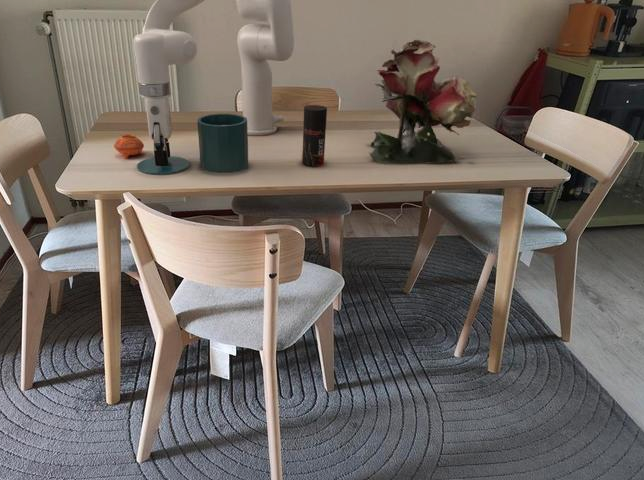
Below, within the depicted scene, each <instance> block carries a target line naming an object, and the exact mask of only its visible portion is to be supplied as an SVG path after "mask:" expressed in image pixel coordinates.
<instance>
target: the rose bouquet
mask: <svg viewBox="0 0 644 480" xmlns="http://www.w3.org/2000/svg"><path fill="white" fill-rule="evenodd" d="M435 48H436V45H435V44H432V43H431V41H430V40H427V39H425V40H423V39H421V40H420V39H417V38H416V39H414V40H412V41H408V42H406V43H405V44H403V45H401V47H400V50H399V51H398V52H396V51H395V49H392V50H390V53H391V54H392V55H393V59H389V60H387V61H384V62H383V64H382V65H381V66H382V68H386V70H385V69H377V70H376V72H377V73H378V75H379V76H380V77H381V78H382V79H381V80H380V82H381V83H382V84H380V83H375V84H374V85H375V86H376V87H377V89H379V90H382V93H383V98H382V99H381V103H384V102H385V103H386V105H385V107H386V108H387V109H388V110H390V111H391V112H392V113H393V114H394V115H395V116H396V117H397V118H398V119H399V127H398V134H397V136H396V137H395V136H392V135H390V134H386V133H384V132H381V131H377V132H376V131H375V132H374V134H375V137H374V140H373V141H370V147H374V150H373V151H371V152H370V151H367V152H368V154H369V156H370V158H371V159H372V160H371V161H372V162H374V163H380V164H390V165H391V164H395V165H404V164H405V165H406V164H407V165H409V164H410V165H411V164H416V165H418V164H420V163H428V164H429V163H431V164H446V163H447V162H454V163H458V161H457V160H456V156H455V155H454V154H453V152H451V151H450V149H448V148H447V146H445V145H444V143H443V142H442V141H441V140H440V139H439V138H438V137H437V135H436V133H435V132H434V129H433V127H437V126H440V125H441V126H442V127H443V128H444V129H446V130H447V131H448V132H449V133H454V134H456V135H457V136H460V134H459V133H458V132H456V131H455V130H453V129H452V127H456V129H463V128H464V127H469V126H470V125H471V120H470V119H472V118H473V114H474V112H475V111H476V109H477V101H476V98H477V97H478V95H477V93H476V92H475V91H473V90H472V88H471V83H470V82H468V81H467V80H465V79H464V78H463V77H461V76H457V75H453V76H449V77H446V78H443V80H441V81H440V82H436V81H435V78H436V76H437V74H438V73H439V71H440V69H441V67H440V66H439V65H438V63H439V62H440V57H438V56H434V55H433V54H434V53H433V51H434V49H435ZM379 114H380V113H378V115H379ZM467 118H469V120H467ZM416 126H418V130H417V131H415V128H416ZM404 133H405V134H404ZM458 159H461V157H458Z"/></svg>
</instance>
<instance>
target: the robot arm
mask: <svg viewBox="0 0 644 480" xmlns="http://www.w3.org/2000/svg"><path fill="white" fill-rule="evenodd" d="M204 1H205V0H155V2H154V3H153V4H152V5H151V7H150V8H149V10H148V13H147V14H146V18H145V21H144V24H143V29H142V32H141V33H138V34H136V35H134V36H133V39H132V43H133V51H134V60H135V67H136V74H137V82H138V90H139V97H140V98H141V99H144V100H145V101H144V102H145V111H146V117H147V118H146V119H147V127H148V134H149V138H150V139H151V140H152V141H153V155H154V157H155V165H156V166H168V158H169V157H170V156H171V149H170V142H169V140H170V138H171V137H172V132H173V124H172V117H171V110H170V109H171V107H170V102H169V98H170V97H172V88H171V78H170V67H169V66H170V65H171V66H172V65H174V66H176V65H177V66H178V65H179V66H184V65H188V64H190V63H192V62H193V61H194V59H195V58H196V56H197V53H198V45H197V41H196V39H195V38H194V36H192V35H191V34H190V33H188V32H186V31H182V30H172V29H170V28H171V26H172V24H173V22H174V21H175V20H176V19H177V18H178V17H179V16H181V15H182V14H184V13H185V12H187V11H189V10H191V9H193V8H195V7H197V6H199V5H201V4H203V2H204ZM235 3H236V8H237V11H238V14H239V16H240V17H241V18H242V19H244V20H247V21H252V22H253V21H254V22H268V23H269V24H265V23H248V24H245V25H244V26H242V27H241V28H240V29H239V31H238V33H237V38H236V39H237V40H236V41H237V43H236V44H237V48H238V53H239V58H240V59H239V60H240V67H241V69H240V70H241V97H242V98H241V100H242V116H244V117H246V118H247V129H248V136H266V135H270V134H274V133H275V132H277V128H278V127H277V125H275V124H277V123H280V122H284V115H277V116H276V115H274V114H273V72H272V68H271V66H270V64H269V61H275V62H284V61H287V60H289V59H290V58H291V57H292V55H293V53H294V47H295V36H294V24H293V12H292V3H291V0H235ZM165 145H167V150H166V148H165ZM167 154H168V156H167Z"/></svg>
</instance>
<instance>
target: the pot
mask: <svg viewBox="0 0 644 480" xmlns="http://www.w3.org/2000/svg"><path fill="white" fill-rule="evenodd" d="M113 147H114V149H115V150H116V151H117V152H118V153H120V154H121V155H122V156H123V159H125V160H128V159H129V156H130V157H131V156H135V155H142V154H143V153H142V152H143V149H144V147H145V145H144V142H142V140H141V139H139V138H138V137H136V135H135V134H131V133H127V134H124V135H120V137H119V138H118V139H116V140H115V142H114V144H113Z"/></svg>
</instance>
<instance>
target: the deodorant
mask: <svg viewBox="0 0 644 480" xmlns="http://www.w3.org/2000/svg"><path fill="white" fill-rule="evenodd" d="M327 115H328V107H327V106H325V105H319V104H309V105H305V106H304V107H303V125H302V126H303V127H302V128H303V129H302V154H301V157H302V159H301V165H302V166H304V167H306V168H321V167H323V166H324V165H325V149H326V132H327V130H326V129H327V118H328V117H327Z"/></svg>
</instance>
